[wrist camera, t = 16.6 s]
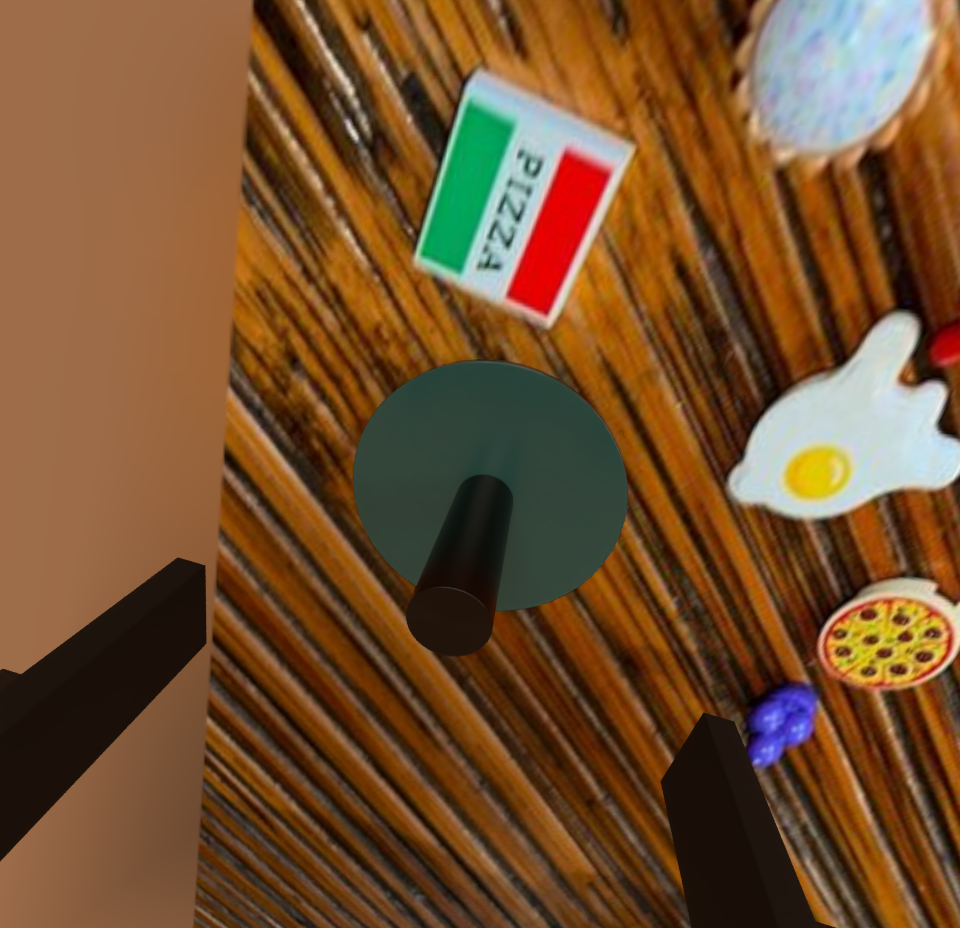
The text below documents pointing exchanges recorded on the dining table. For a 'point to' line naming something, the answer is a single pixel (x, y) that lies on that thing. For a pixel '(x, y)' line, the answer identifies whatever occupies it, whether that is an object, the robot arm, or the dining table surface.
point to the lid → (487, 494)
